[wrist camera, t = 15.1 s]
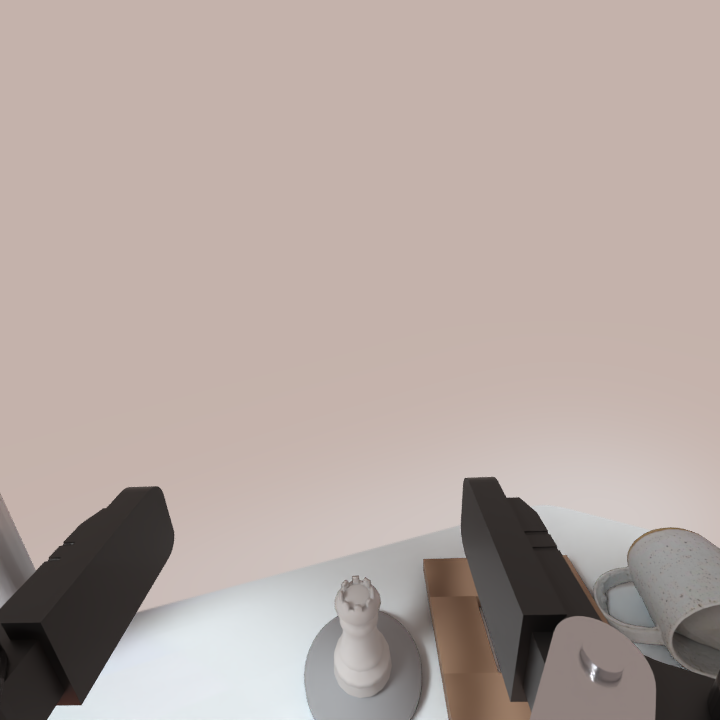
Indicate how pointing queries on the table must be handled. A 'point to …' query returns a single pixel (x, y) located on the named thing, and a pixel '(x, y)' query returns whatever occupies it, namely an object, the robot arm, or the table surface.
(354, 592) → the rook chess piece
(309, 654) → the slate-grey pad
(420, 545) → the table surface
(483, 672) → the walnut frame
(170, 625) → the table surface
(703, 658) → the ceramic mug
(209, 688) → the table surface
